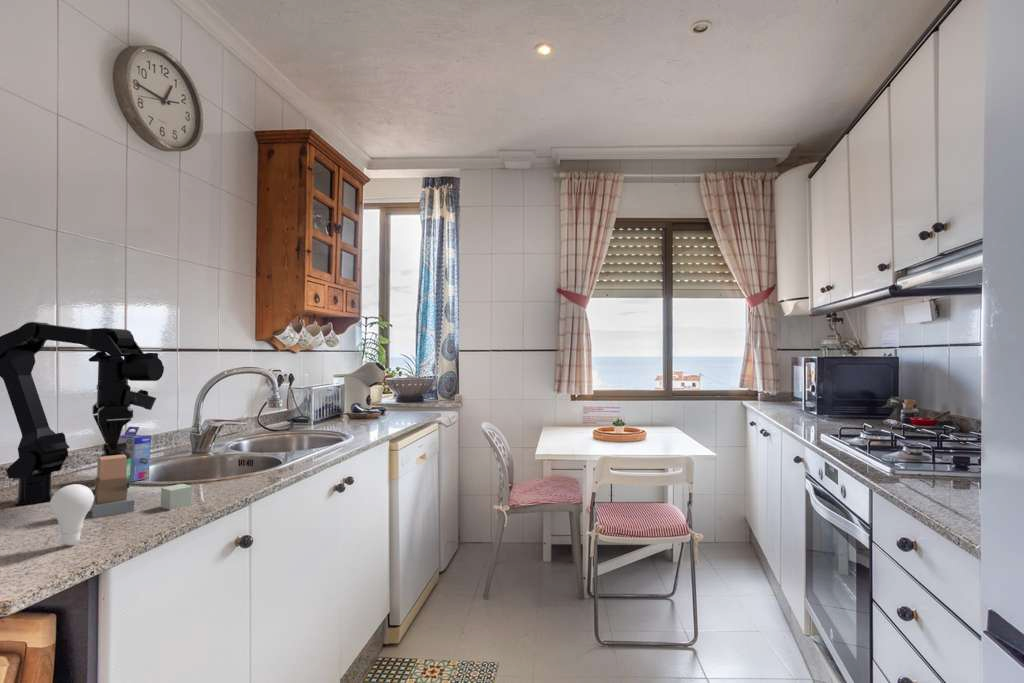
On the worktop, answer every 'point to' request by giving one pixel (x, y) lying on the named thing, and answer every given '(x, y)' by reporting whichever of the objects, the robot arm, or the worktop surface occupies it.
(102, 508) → the slate base block
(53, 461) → the robot arm
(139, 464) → the ink cartridge box
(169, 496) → the sage block
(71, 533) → the lightbulb
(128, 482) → the supplement bottle
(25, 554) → the worktop surface
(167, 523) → the worktop surface
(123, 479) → the walnut cube
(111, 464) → the terracotta block
